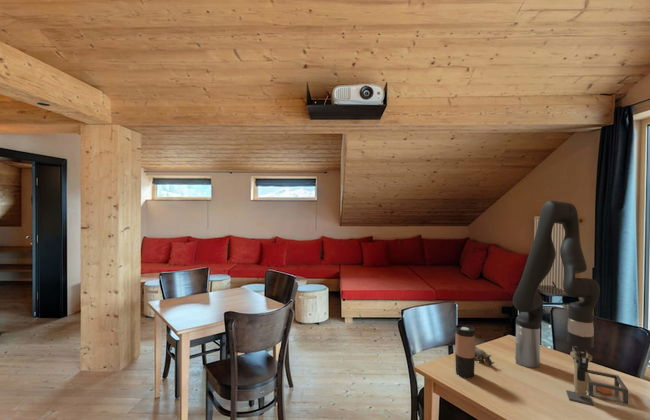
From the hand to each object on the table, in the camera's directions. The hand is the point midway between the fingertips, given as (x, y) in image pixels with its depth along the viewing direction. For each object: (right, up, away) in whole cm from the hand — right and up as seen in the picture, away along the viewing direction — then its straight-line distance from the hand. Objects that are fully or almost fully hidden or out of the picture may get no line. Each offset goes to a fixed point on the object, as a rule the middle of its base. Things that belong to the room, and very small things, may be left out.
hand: (579, 377), depth 117 cm
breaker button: (+12, -7, +4) cm, 15 cm away
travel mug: (-35, -8, +17) cm, 40 cm away
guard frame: (+12, -8, +4) cm, 15 cm away
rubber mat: (0, -8, 0) cm, 8 cm away
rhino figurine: (-23, -8, +27) cm, 37 cm away
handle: (0, -7, 0) cm, 7 cm away
